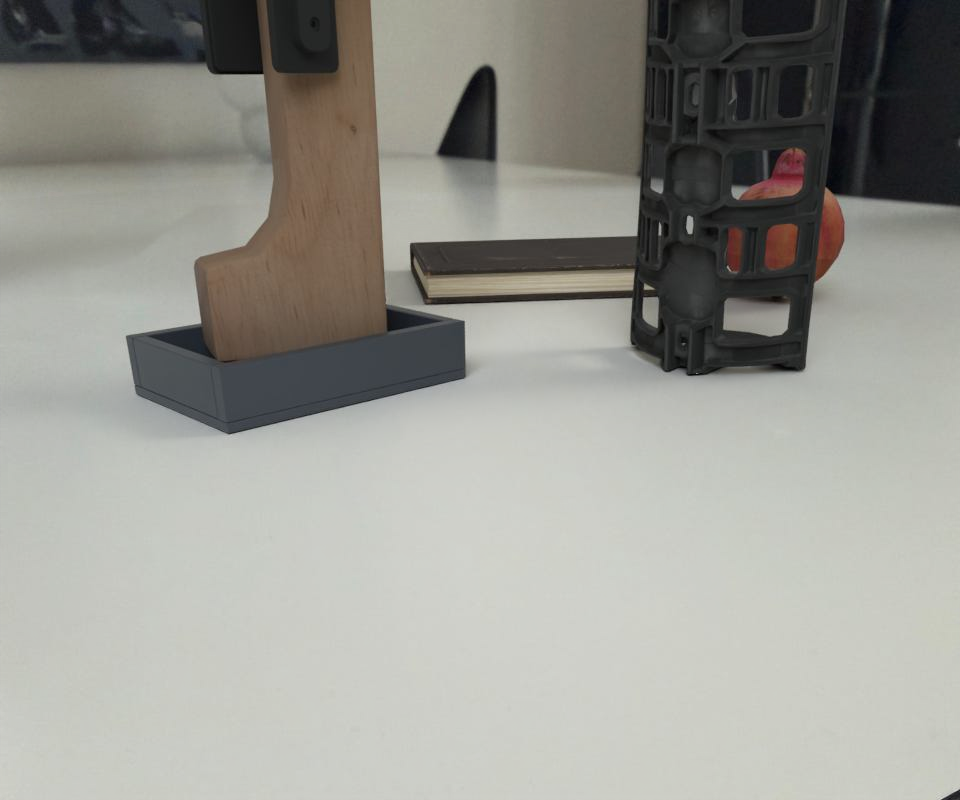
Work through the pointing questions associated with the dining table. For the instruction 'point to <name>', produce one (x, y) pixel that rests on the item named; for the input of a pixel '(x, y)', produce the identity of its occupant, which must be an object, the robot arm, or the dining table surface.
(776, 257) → the fruit
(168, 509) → the dining table surface
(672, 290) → the holder
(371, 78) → the wooden block
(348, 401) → the tray
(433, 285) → the hardcover book
